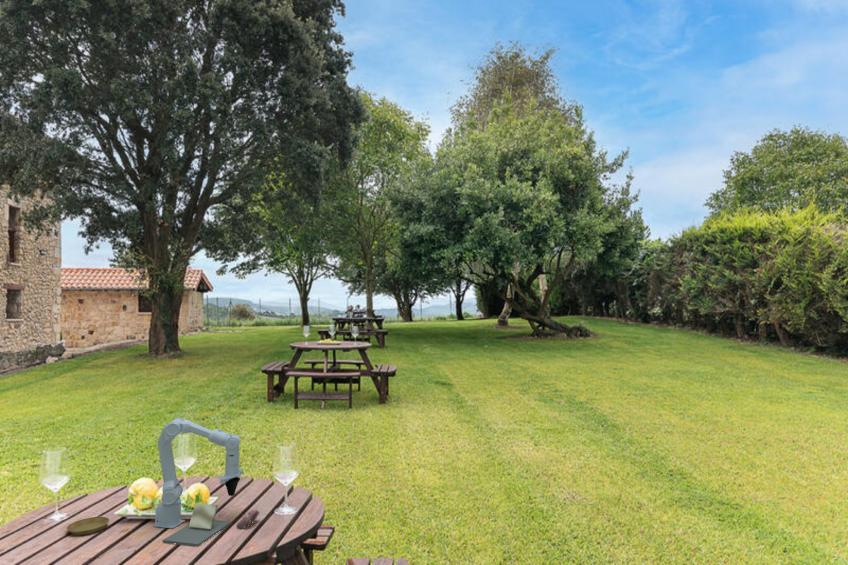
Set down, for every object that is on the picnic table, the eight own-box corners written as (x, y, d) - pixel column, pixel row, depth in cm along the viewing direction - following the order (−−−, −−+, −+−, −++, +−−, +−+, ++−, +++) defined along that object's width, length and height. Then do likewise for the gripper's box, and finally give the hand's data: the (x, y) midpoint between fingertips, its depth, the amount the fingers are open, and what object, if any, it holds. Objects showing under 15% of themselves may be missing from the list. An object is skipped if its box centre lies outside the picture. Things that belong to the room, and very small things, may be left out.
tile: (211, 529, 205) (210, 528, 204) (190, 526, 207) (188, 526, 206) (217, 505, 210) (216, 505, 209) (197, 503, 212) (195, 503, 211)
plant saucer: (71, 541, 197) (72, 534, 197) (62, 530, 207) (62, 524, 207) (113, 529, 208) (114, 523, 208) (103, 519, 218) (103, 513, 218)
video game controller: (243, 533, 208) (250, 518, 208) (234, 527, 209) (242, 513, 209) (255, 524, 218) (262, 510, 218) (247, 518, 219) (254, 504, 218)
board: (162, 542, 196) (162, 540, 196) (198, 520, 217) (198, 518, 217) (198, 546, 192) (198, 544, 192) (231, 523, 214) (231, 521, 214)
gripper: (230, 469, 212) (229, 501, 211) (249, 459, 226) (248, 490, 225) (216, 468, 214) (215, 500, 213) (235, 458, 228) (234, 489, 227)
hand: (231, 495), depth 219 cm, fingers closed
